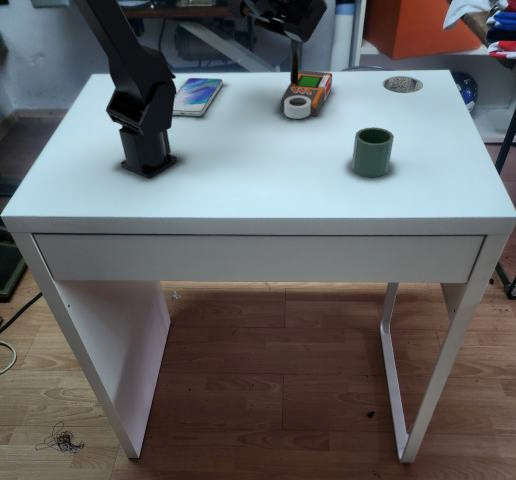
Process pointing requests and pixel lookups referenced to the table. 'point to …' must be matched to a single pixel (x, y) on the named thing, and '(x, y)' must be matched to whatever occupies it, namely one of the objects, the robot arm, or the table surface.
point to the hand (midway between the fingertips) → (300, 39)
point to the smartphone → (195, 96)
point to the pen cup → (372, 152)
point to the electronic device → (306, 94)
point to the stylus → (294, 61)
